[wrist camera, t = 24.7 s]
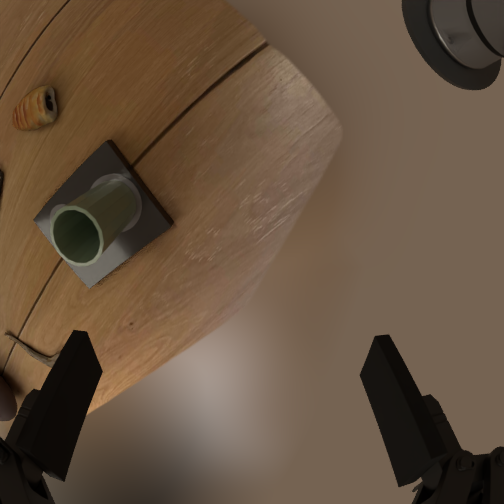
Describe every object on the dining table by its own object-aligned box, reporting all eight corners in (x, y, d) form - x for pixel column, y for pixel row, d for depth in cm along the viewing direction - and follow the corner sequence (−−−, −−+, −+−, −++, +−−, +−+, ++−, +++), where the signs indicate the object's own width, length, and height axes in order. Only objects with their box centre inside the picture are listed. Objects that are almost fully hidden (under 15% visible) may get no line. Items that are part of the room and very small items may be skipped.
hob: (111, 139, 38) (105, 140, 36) (174, 222, 44) (171, 227, 42) (39, 215, 42) (32, 220, 40) (93, 283, 48) (88, 289, 46)
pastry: (21, 138, 36) (7, 141, 32) (15, 103, 33) (2, 104, 29) (61, 119, 35) (47, 120, 32) (55, 81, 32) (42, 80, 29)
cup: (134, 178, 38) (98, 204, 28) (138, 227, 42) (108, 267, 31) (89, 181, 38) (44, 207, 27) (95, 228, 41) (57, 265, 31)
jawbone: (75, 372, 60) (72, 378, 58) (17, 352, 58) (13, 358, 56) (64, 349, 55) (61, 355, 54) (4, 329, 54) (1, 335, 52)
